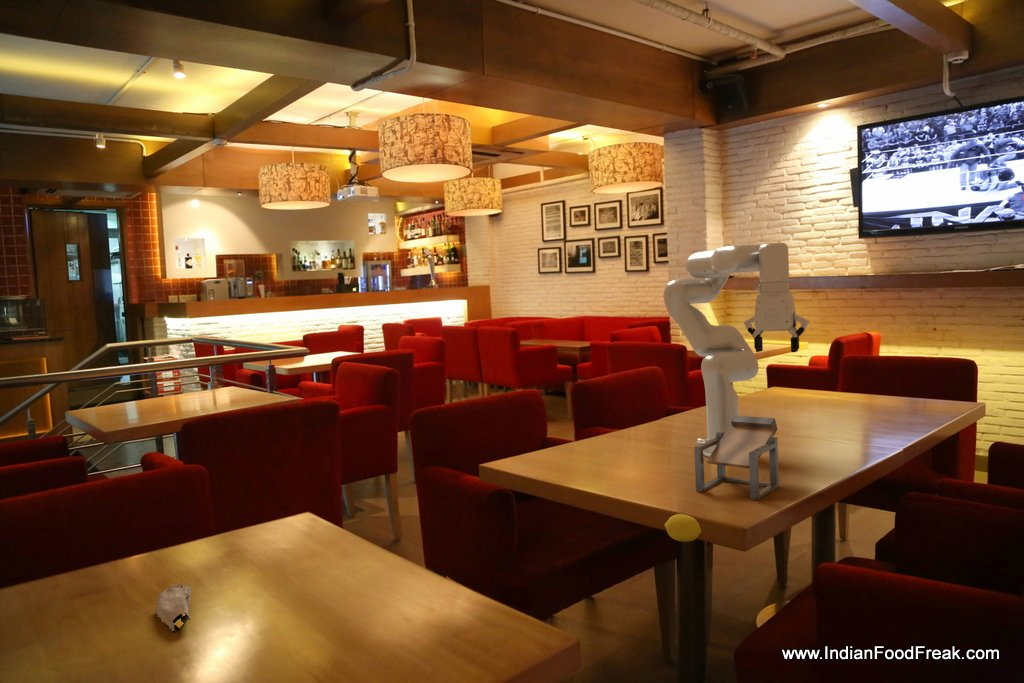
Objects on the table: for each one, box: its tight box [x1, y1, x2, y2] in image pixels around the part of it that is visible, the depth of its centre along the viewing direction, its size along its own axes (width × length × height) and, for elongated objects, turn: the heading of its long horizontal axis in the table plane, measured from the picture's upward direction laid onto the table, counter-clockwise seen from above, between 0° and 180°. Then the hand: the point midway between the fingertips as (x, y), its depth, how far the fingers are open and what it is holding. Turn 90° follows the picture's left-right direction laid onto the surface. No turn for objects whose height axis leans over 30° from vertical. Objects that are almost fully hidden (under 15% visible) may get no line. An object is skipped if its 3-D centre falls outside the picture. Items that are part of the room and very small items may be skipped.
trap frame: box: [694, 432, 780, 501], centre depth 186 cm, size 16×14×13 cm
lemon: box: [664, 513, 702, 543], centre depth 151 cm, size 6×6×8 cm
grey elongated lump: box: [153, 583, 193, 631], centre depth 127 cm, size 14×6×5 cm, turn 26°
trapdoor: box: [706, 415, 778, 469], centre depth 189 cm, size 12×19×4 cm, turn 139°
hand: (776, 351), depth 198 cm, fingers open, 9 cm apart
